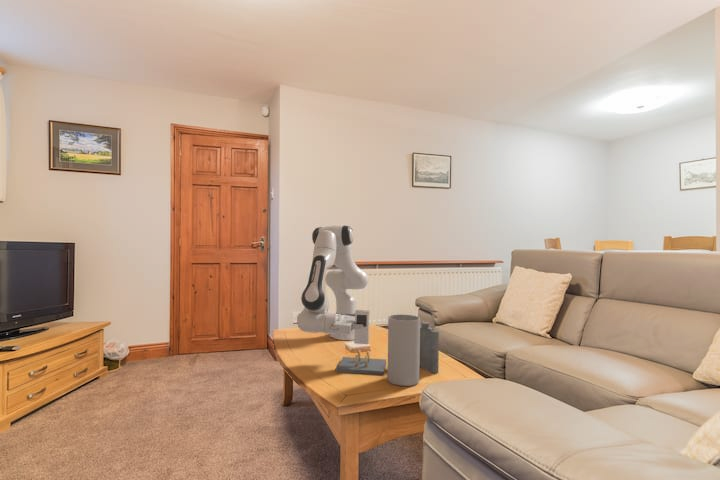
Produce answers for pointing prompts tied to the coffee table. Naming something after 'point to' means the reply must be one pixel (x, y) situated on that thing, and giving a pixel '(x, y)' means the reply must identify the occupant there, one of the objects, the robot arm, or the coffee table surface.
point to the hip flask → (429, 348)
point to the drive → (363, 334)
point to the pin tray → (362, 365)
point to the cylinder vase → (403, 349)
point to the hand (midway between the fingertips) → (364, 325)
